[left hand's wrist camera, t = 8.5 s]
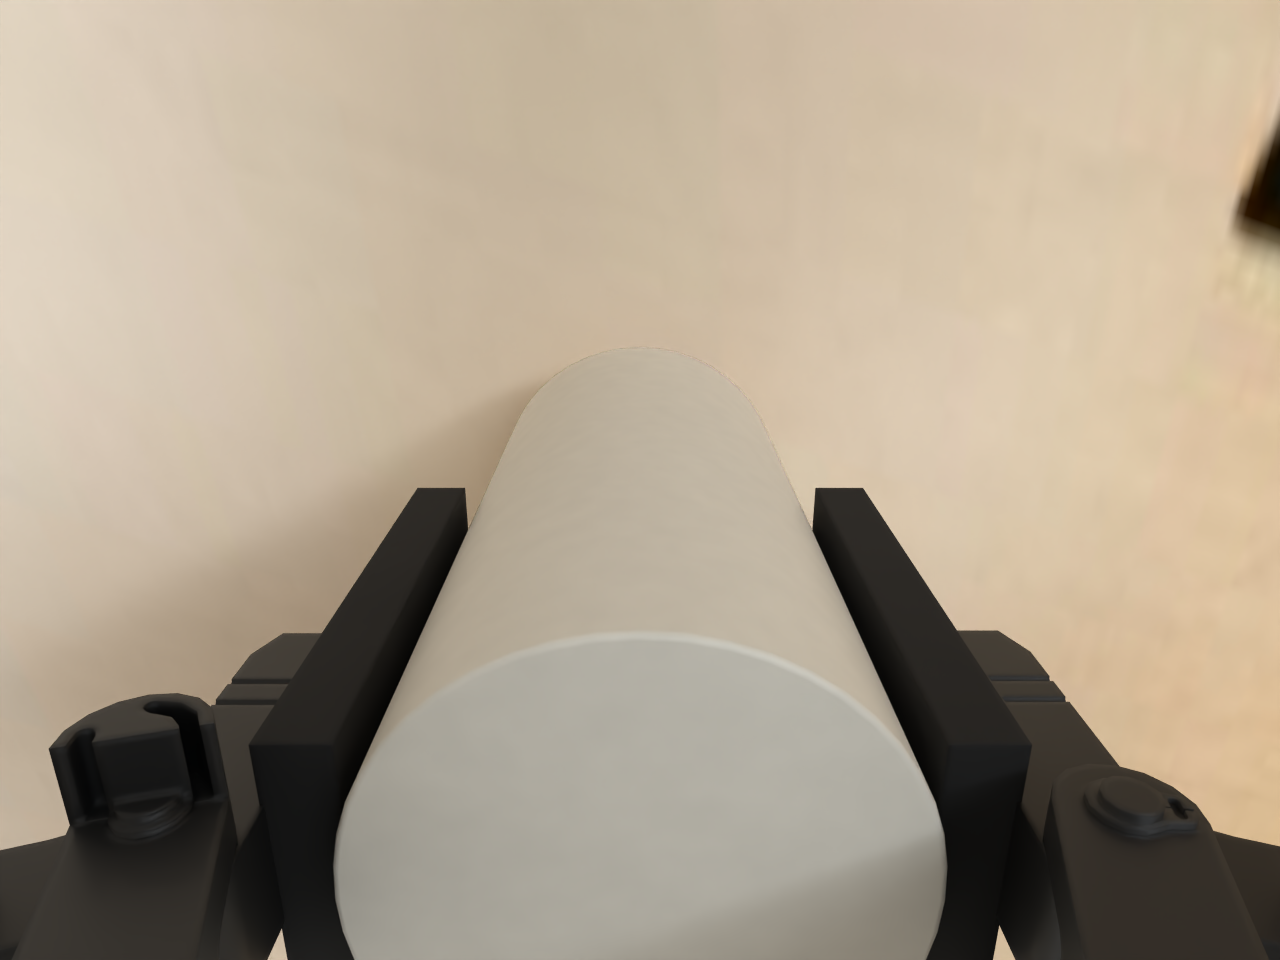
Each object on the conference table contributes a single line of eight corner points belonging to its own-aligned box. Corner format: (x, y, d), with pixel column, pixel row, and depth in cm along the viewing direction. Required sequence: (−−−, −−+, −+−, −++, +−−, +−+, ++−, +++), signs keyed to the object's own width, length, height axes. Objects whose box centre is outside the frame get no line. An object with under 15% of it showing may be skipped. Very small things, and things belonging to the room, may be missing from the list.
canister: (550, 624, 20) (449, 1156, 9) (469, 386, 18) (228, 718, 7) (798, 565, 19) (986, 1059, 9) (741, 314, 17) (895, 562, 7)
